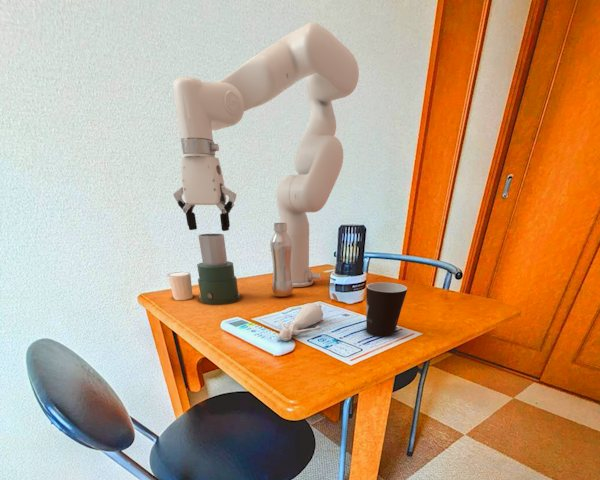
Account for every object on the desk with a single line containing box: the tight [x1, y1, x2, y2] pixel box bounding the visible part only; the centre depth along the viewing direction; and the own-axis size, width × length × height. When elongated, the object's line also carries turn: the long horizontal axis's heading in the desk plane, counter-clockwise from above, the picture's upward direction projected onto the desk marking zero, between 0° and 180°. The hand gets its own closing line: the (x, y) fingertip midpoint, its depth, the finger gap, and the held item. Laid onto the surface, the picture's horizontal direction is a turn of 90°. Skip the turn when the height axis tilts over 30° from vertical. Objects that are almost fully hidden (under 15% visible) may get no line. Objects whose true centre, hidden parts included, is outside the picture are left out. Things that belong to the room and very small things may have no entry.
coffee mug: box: [365, 281, 408, 338], centre depth 71 cm, size 12×9×10 cm
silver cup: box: [197, 233, 228, 266], centre depth 88 cm, size 7×7×8 cm
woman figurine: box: [277, 302, 324, 342], centre depth 73 cm, size 12×4×18 cm
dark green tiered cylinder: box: [196, 260, 241, 306], centre depth 93 cm, size 12×12×10 cm
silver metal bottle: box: [269, 222, 294, 298], centre depth 92 cm, size 6×7×20 cm
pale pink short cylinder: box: [166, 271, 194, 301], centre depth 95 cm, size 7×7×7 cm
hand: (209, 230), depth 85 cm, fingers open, 9 cm apart
